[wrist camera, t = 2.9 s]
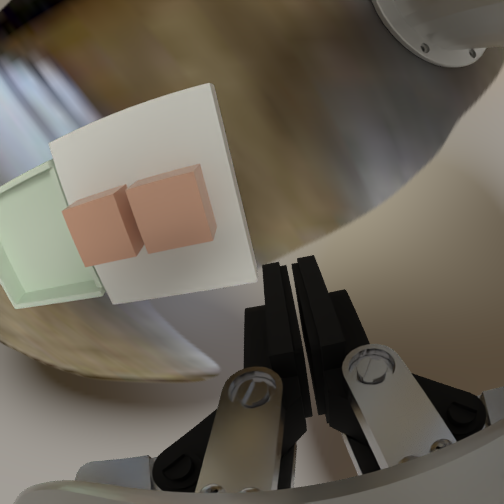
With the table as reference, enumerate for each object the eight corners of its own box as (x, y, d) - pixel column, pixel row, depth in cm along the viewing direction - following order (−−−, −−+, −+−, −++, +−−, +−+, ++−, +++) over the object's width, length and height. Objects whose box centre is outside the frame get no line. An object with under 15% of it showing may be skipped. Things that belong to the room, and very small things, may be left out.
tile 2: (199, 163, 21) (193, 171, 19) (217, 226, 23) (213, 240, 21) (137, 180, 22) (125, 190, 19) (157, 239, 24) (148, 254, 22)
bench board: (214, 84, 21) (209, 82, 18) (257, 266, 28) (257, 281, 26) (64, 138, 22) (48, 143, 20) (121, 289, 29) (113, 304, 27)
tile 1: (126, 183, 22) (112, 193, 19) (146, 241, 24) (136, 256, 22) (76, 200, 22) (61, 211, 20) (97, 252, 24) (85, 267, 22)
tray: (65, 153, 23) (47, 161, 20) (113, 279, 29) (102, 296, 26) (-17, 197, 24) (-33, 207, 21) (27, 294, 30) (15, 309, 27)
